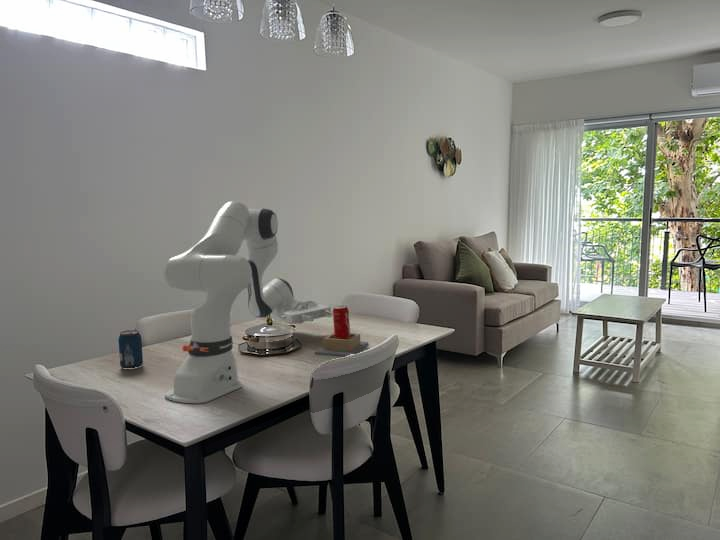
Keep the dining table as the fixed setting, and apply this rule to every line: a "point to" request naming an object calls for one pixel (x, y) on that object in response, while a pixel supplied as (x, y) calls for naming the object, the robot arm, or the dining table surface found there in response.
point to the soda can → (130, 349)
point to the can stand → (341, 345)
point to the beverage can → (341, 322)
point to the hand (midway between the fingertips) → (321, 316)
